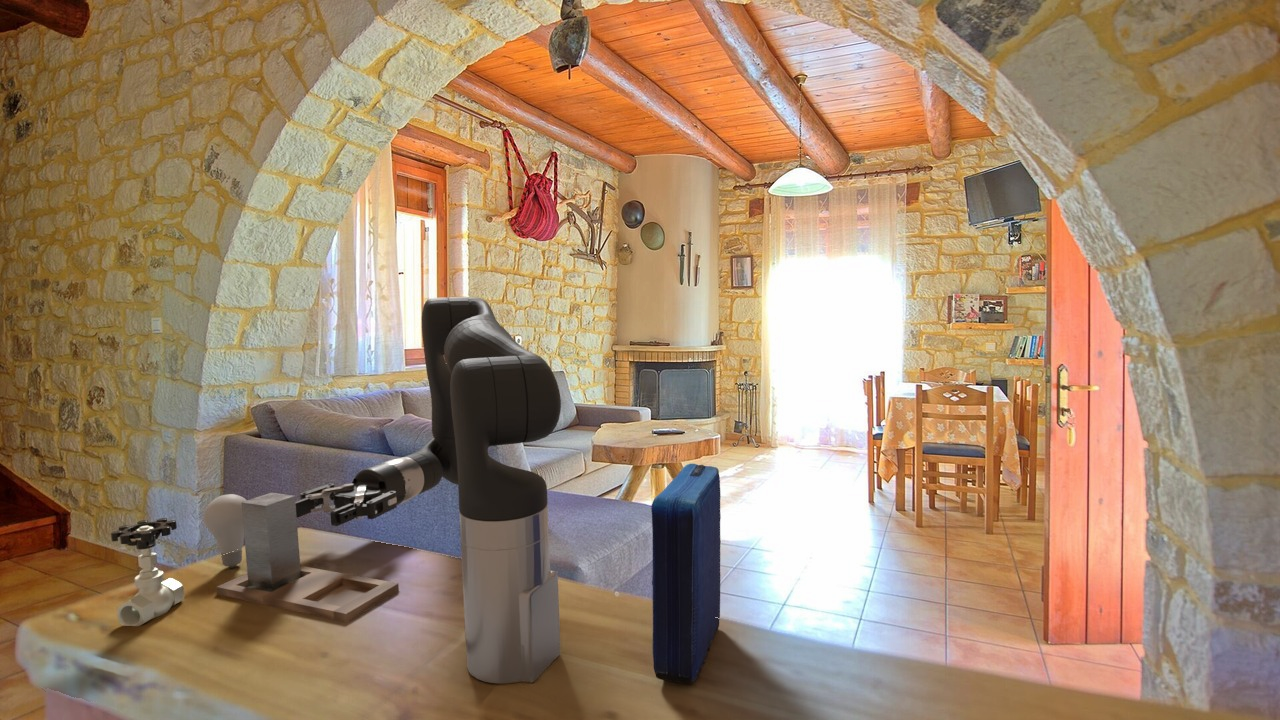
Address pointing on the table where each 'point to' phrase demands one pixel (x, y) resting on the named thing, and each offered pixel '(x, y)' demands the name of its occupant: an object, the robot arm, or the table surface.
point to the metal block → (271, 541)
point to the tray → (317, 593)
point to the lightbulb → (227, 526)
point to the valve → (148, 574)
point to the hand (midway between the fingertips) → (310, 516)
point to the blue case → (686, 572)
